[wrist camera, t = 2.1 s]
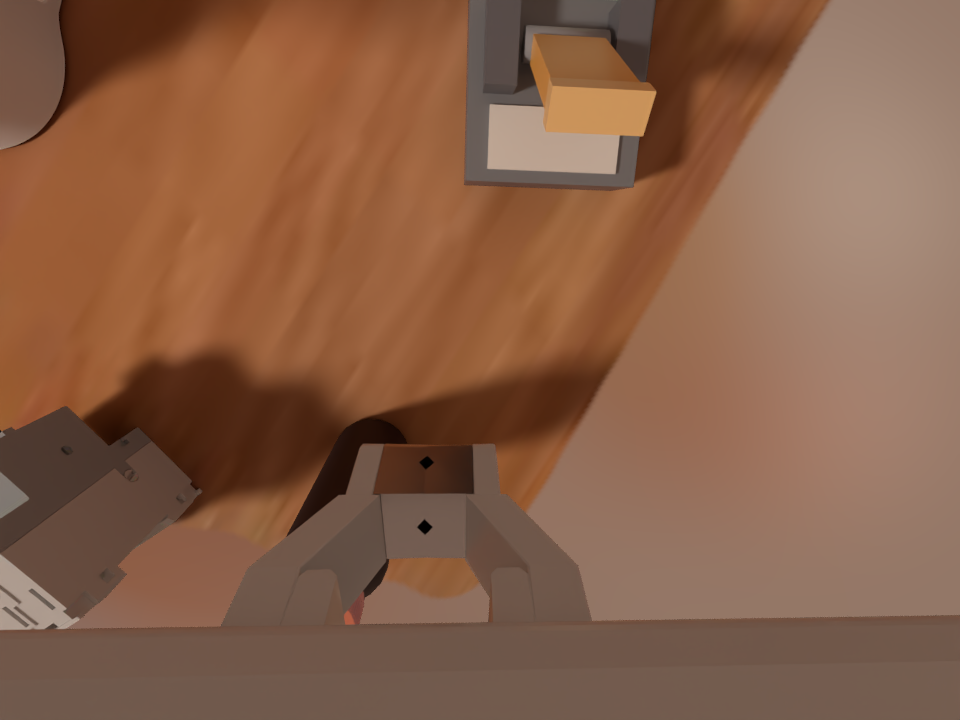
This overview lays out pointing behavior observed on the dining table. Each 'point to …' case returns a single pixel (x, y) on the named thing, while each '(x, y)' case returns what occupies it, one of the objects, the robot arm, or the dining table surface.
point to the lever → (585, 82)
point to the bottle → (336, 483)
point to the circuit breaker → (76, 515)
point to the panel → (517, 103)
